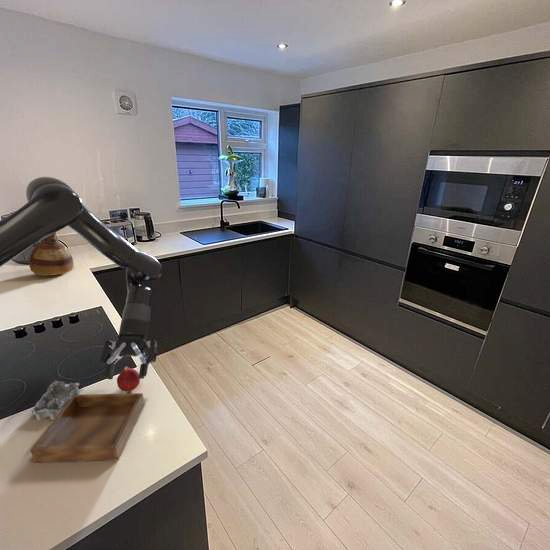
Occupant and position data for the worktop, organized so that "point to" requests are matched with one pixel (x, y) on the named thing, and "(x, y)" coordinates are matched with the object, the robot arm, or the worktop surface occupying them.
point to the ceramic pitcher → (50, 257)
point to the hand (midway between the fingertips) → (125, 378)
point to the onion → (128, 379)
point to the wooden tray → (90, 428)
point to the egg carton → (55, 399)
